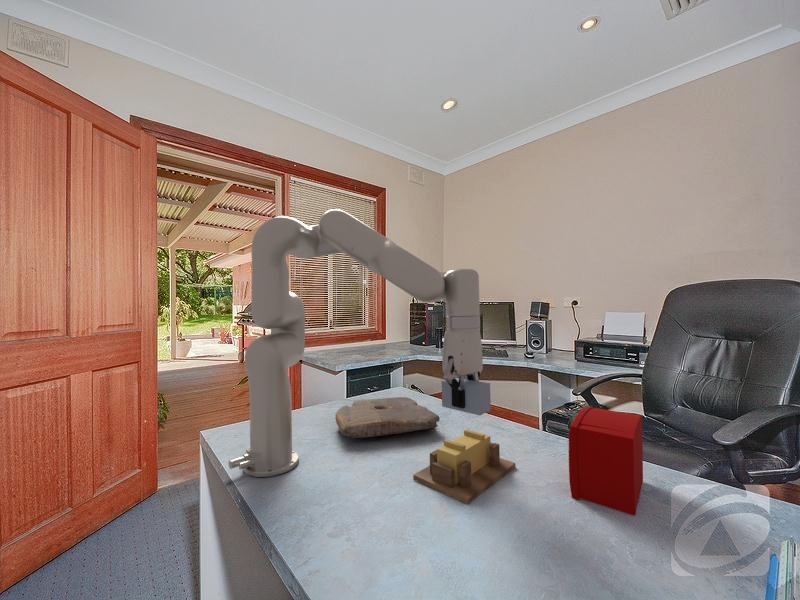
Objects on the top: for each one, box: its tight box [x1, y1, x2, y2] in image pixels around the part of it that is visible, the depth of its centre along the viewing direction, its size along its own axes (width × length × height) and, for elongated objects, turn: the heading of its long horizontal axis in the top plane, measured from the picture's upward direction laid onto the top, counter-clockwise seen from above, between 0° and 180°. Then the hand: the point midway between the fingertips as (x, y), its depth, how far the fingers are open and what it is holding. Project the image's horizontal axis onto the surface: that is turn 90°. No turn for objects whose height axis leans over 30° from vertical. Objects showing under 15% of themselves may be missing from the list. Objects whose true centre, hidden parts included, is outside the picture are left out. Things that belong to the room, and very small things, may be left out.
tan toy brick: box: [436, 429, 491, 485], centre depth 79 cm, size 14×5×7 cm, turn 136°
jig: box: [412, 442, 516, 505], centre depth 78 cm, size 20×14×6 cm
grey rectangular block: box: [440, 378, 492, 416], centre depth 78 cm, size 4×10×6 cm, turn 46°
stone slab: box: [335, 396, 440, 439], centre depth 111 cm, size 31×29×6 cm
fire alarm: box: [568, 405, 644, 517], centre depth 71 cm, size 16×11×15 cm
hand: (465, 403), depth 79 cm, fingers closed on grey rectangular block, 4 cm apart
